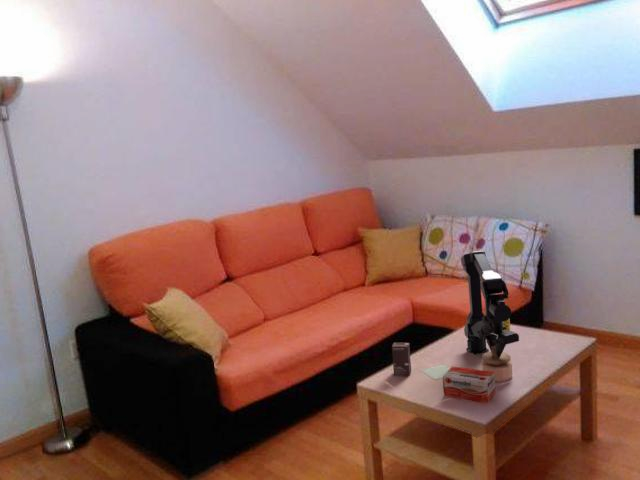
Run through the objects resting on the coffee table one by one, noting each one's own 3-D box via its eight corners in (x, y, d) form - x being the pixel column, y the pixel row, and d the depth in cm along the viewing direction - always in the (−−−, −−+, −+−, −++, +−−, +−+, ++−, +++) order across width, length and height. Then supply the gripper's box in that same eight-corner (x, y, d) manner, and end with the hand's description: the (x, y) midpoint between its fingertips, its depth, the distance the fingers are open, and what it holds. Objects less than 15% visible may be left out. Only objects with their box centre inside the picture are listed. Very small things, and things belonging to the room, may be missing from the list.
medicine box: (443, 397, 198) (442, 374, 196) (452, 387, 204) (451, 365, 203) (488, 404, 189) (487, 381, 188) (496, 394, 196) (494, 371, 195)
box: (393, 377, 217) (391, 346, 215) (396, 372, 222) (393, 341, 219) (410, 377, 215) (407, 346, 213) (412, 372, 220) (409, 342, 218)
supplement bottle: (494, 337, 247) (493, 308, 244) (493, 332, 253) (491, 303, 251) (511, 336, 245) (510, 307, 243) (509, 331, 252) (507, 302, 250)
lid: (498, 351, 214) (498, 339, 213) (516, 360, 205) (515, 347, 204) (476, 357, 211) (475, 345, 210) (493, 366, 202) (492, 353, 201)
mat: (443, 365, 223) (443, 364, 223) (458, 374, 214) (458, 373, 214) (420, 371, 220) (420, 370, 220) (435, 380, 211) (435, 379, 211)
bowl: (499, 368, 215) (499, 355, 215) (518, 377, 206) (517, 364, 205) (476, 374, 212) (476, 361, 211) (494, 384, 203) (493, 370, 202)
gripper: (458, 310, 211) (461, 351, 214) (491, 324, 194) (494, 368, 196) (484, 304, 215) (486, 345, 217) (519, 317, 198) (521, 361, 200)
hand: (496, 354), depth 208 cm, fingers open, 3 cm apart
